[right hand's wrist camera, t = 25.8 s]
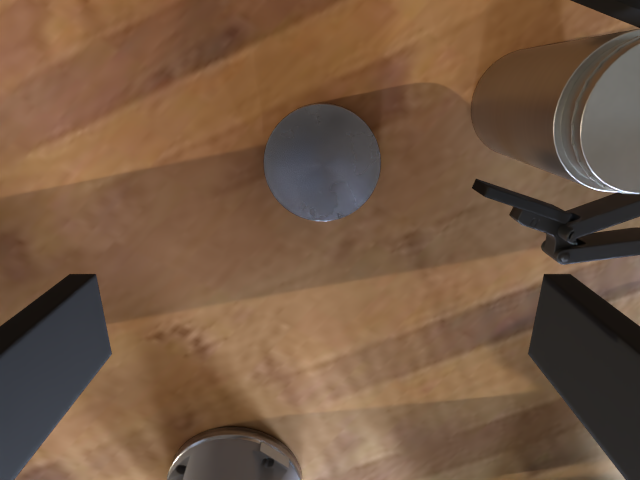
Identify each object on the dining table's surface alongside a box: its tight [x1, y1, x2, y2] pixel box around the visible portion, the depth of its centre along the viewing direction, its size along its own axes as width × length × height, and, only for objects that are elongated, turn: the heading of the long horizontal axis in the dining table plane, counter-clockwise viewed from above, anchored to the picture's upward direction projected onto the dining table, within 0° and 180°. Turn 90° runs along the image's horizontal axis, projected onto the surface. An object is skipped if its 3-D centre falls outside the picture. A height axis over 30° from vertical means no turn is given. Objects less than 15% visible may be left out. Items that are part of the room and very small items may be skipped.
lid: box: [264, 103, 381, 221], centre depth 36 cm, size 10×10×2 cm
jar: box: [471, 29, 640, 194], centre depth 28 cm, size 8×8×15 cm
